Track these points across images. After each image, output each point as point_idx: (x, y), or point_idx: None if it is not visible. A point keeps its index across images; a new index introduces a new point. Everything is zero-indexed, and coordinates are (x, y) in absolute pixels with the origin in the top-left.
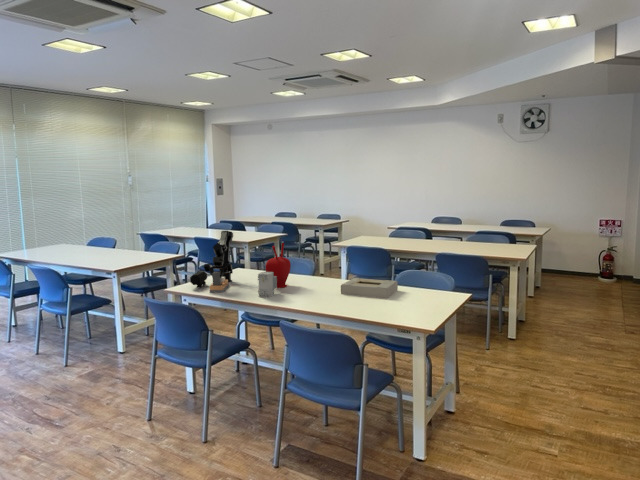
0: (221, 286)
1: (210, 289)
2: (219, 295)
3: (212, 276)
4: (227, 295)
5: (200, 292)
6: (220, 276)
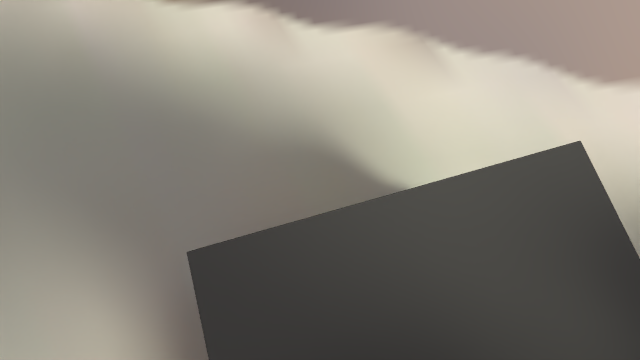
0: None
1: None
2: (179, 81)
3: None
4: (52, 105)
5: None
6: None
